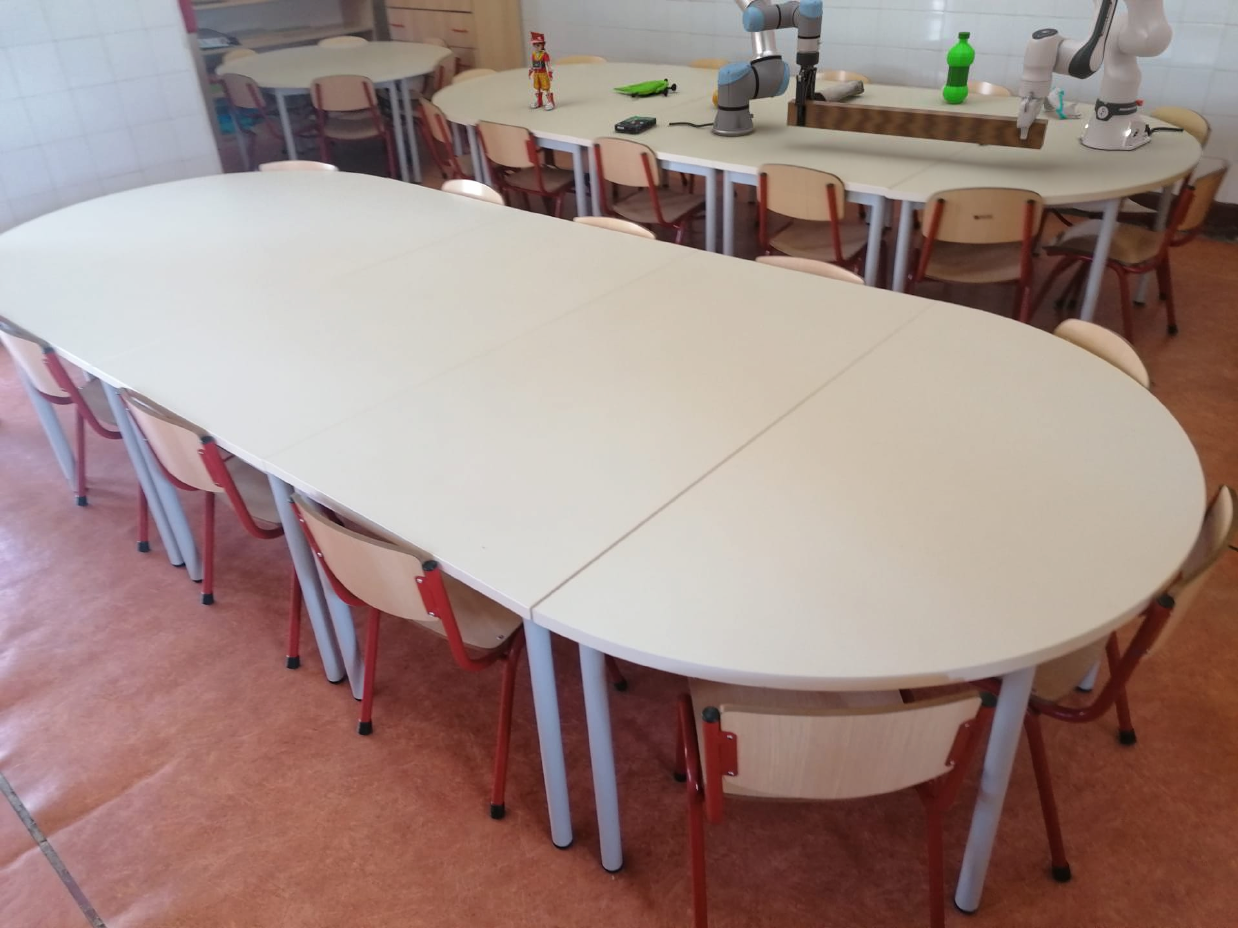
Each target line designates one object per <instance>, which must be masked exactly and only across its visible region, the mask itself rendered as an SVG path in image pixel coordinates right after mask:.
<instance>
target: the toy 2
mask: <svg viewBox="0 0 1238 928" xmlns="http://www.w3.org/2000/svg"><path fill="white" fill-rule="evenodd" d="M669 85H670V83H669V79H668V78H664V79H663V80H649V81H644V82H640V83H634V84H629V85H627V86H621V87H613V88H612V89H613V90H616V91H619V92H623V93H627V94H628V93H629V94H631V95H630V96H631V98H632V99H634V98H636V96H637V95H650V94H652V93H654V94H658V93H662V95H663V96H665V97H667V96H668V95H669V90H671V91H672V92H676V91H677V84H676V83H672V84H671V86H669Z"/></svg>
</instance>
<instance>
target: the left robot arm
mask: <svg viewBox="0 0 1238 928" xmlns="http://www.w3.org/2000/svg"><path fill="white" fill-rule="evenodd" d="M734 2H735V3H736V5H737V7H738V8H739V9H740V11H741V13H742V17H741V18H742V20H741V23H742V25H743V29H744V30H745V32H747V33H750V38H751V39H750V41H751V47H752V58H751V59H750V61H734V62H730V63H727V64H724V65H723V66H721V67H720V68H719V70H718V75H717V82H716V83H717V90H718V107H717V111H716V114H715V118H714V120H713V122H708V123H703V124H695V123H692V122H688V121H683V122H682V121H678V122H668V126H677V125H678V126H681V125H682V126H683V125H684V126H685V125H686V126H691V127H693V128H704V127H711V126H712V133H713V134H715V135H717V136H721V137H741V136H746V135H750V134H752V133H754V127H755V126H754V122H753V119H754V113H751V111H750V101H754V100H760V99H768V98H771V99H772V98H775V97H780V96H783V95H784V94H785V93H786V91H787V90H788V87H789V85H790V80H791V69H790V65H789V63H788V62H787V61H785V60H783V57H782V54H781V53H779V52H778V49H777V42H776V33H775V32H776V31H775V30H782V29H790V28H791V29H793V28H795V29H797V37H796V51H797V52H796V56H795V64H796V65H798V66H800V69H799V71H798V74H797V75H796V76H795V82H796V83H795V86H796V87H795V98H794V99H795V106H798V108H797V125H798V126H805V112H806V106H805V100H813V101H814V100H815V99H813V98H814V95H815V92H816V79H817V71H818V67H815V66H816V65H818V64H819V62H820V48H821V44H822V40H821V35H822V25H823V14H824V11H823V5H824V3H823V0H799V1H798V0H788V1H787V0H786V2H784V3H776V4H772V0H734Z"/></svg>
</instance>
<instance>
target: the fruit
mask: <svg viewBox="0 0 1238 928" xmlns="http://www.w3.org/2000/svg"><path fill="white" fill-rule="evenodd" d="M712 103H713V105H714V106H715V107H716V108H718V89H717V90H716V91H714V92H713V94H712Z"/></svg>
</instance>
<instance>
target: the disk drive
mask: <svg viewBox="0 0 1238 928" xmlns="http://www.w3.org/2000/svg"><path fill="white" fill-rule="evenodd" d="M656 125H657V117H652V116H651V117H650V116H637V115H633V116H630V117H628V118H626V119H624V120H621V121H619V122H618V123H615V124H614V132H617V133H618V132H619V133H626V134H635V135H637V134H639V133H642V132H644V131H646V130H647V129H651V128H653V127H654V126H656Z"/></svg>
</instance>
